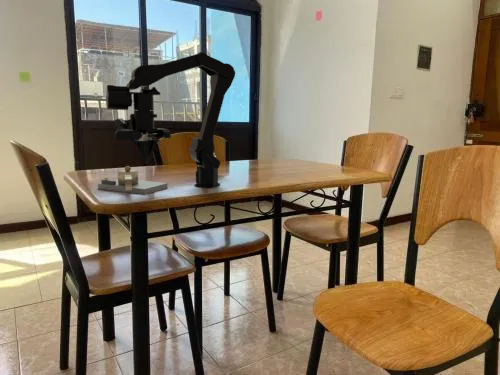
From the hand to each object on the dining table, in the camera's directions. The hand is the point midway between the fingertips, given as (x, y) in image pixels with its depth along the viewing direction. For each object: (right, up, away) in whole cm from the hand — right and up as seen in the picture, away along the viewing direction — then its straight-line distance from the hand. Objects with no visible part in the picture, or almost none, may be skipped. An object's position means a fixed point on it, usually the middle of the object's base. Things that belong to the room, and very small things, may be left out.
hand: (145, 163), depth 115 cm
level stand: (-5, -8, +4) cm, 10 cm away
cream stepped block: (-5, -7, -1) cm, 8 cm away
